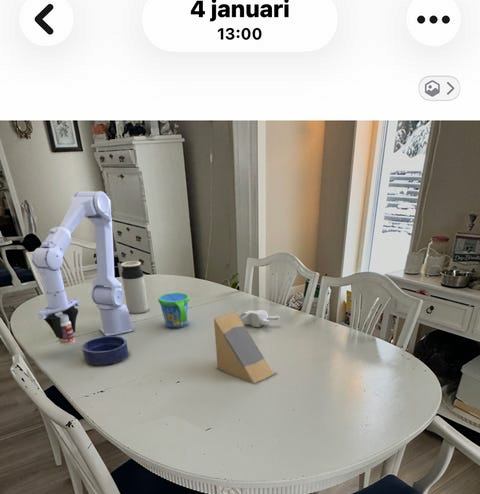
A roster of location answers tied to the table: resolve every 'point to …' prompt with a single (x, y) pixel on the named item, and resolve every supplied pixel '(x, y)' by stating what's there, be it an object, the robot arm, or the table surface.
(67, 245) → the robot arm
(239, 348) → the sandwich container
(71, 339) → the pill bottle
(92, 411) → the table surface
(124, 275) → the travel mug
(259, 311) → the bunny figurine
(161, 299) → the snack cup
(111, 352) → the bowl
